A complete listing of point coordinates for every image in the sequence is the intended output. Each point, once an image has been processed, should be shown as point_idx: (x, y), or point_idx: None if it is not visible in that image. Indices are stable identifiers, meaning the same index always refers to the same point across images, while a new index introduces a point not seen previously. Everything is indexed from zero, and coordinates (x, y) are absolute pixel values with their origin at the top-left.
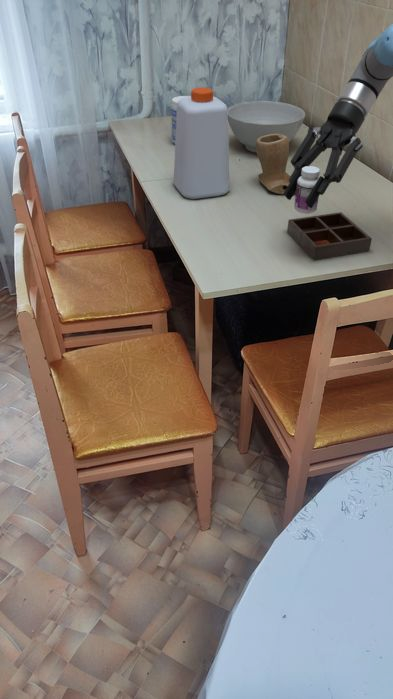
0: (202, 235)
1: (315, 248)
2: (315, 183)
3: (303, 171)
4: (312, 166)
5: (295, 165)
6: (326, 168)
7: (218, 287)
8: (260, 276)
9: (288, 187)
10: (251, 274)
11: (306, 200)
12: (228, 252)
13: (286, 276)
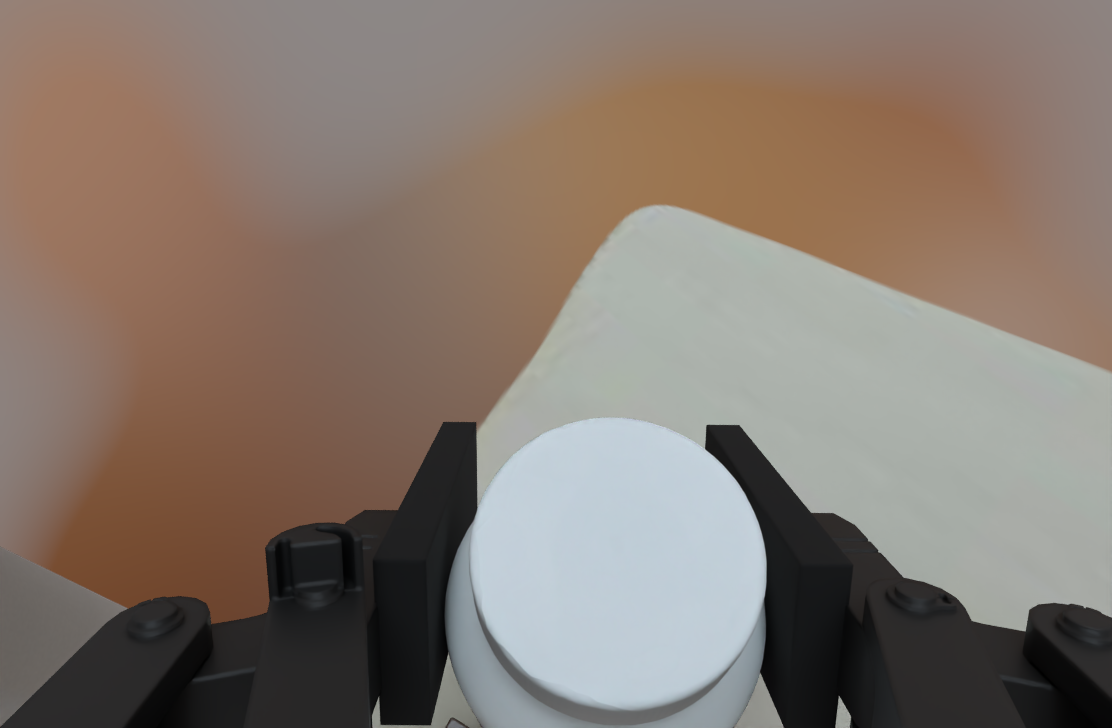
0: (1086, 487)
1: (452, 718)
2: (468, 541)
3: (654, 426)
4: (682, 676)
5: (982, 636)
6: (363, 661)
7: (637, 238)
8: (574, 395)
9: (742, 448)
10: (615, 381)
11: (466, 426)
12: (845, 451)
13: (483, 475)
